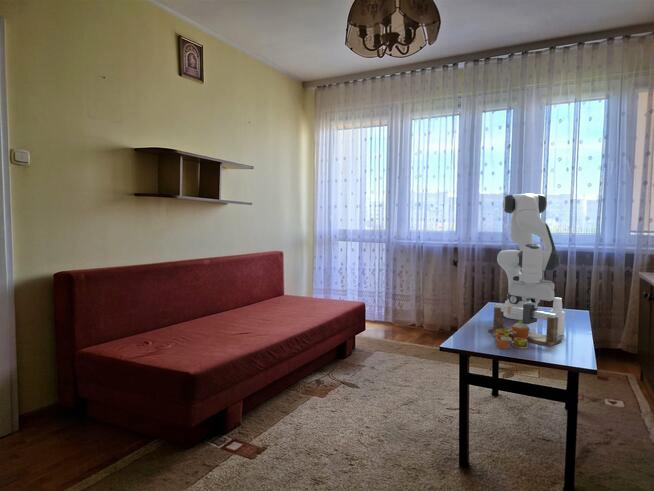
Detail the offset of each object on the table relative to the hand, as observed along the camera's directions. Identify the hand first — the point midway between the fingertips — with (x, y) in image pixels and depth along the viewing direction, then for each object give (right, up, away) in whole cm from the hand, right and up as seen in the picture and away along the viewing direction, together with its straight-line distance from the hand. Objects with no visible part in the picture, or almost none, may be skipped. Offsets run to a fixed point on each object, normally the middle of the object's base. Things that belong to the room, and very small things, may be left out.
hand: (530, 307), depth 199 cm
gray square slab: (0, -7, 0) cm, 7 cm away
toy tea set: (-13, -16, -7) cm, 22 cm away
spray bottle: (+17, -15, +9) cm, 25 cm away
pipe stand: (-2, -15, +3) cm, 15 cm away
